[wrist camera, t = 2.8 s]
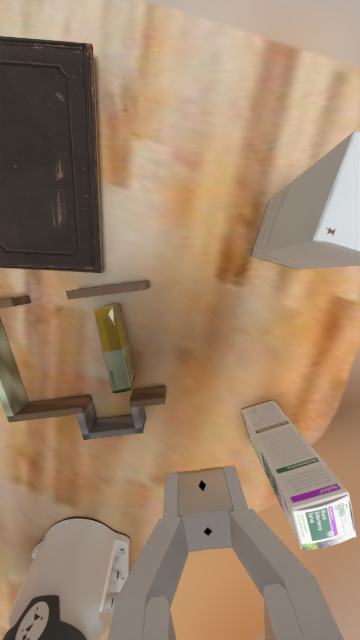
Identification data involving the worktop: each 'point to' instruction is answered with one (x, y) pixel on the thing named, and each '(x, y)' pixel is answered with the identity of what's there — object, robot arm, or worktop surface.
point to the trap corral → (7, 386)
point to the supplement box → (316, 214)
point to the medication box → (115, 347)
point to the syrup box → (299, 479)
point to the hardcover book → (48, 156)
